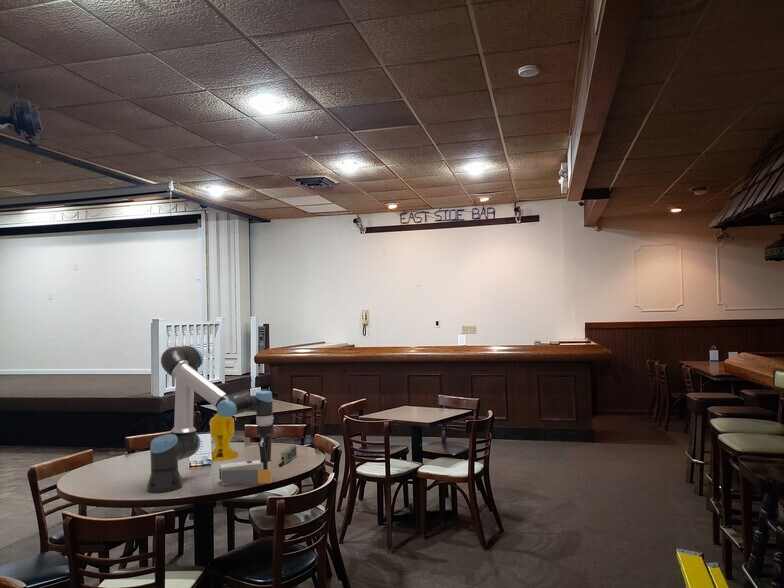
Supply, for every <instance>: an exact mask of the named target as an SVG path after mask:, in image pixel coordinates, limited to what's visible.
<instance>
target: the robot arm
mask: <svg viewBox="0 0 784 588" xmlns="http://www.w3.org/2000/svg"><path fill="white" fill-rule="evenodd" d="M203 362H204V357H203V353H202V351H201V350H200V349H199V348H198V347H196V346H193V345H184V346H183V345H182V346H172V347H168V348H167V349H165V351H163V353H162V355H161V357H160V365H161V367H162V369H163V370H164V371H165V373H167V374H168V375H170V376H171V378H173V379H175V390H174V391H175V393H174V395H175V396H174V397H175V399H174V402H175V403H174V425H173V428H172V429H171V430H170V434H163V435H159V436H157V437H155V438H153V439H152V440H151V442H150V447H149V451H150V475H149V478H148V482H147V484H146V485H147V486H146V491H147V492H148V491H149V492H148V493H153V492H160V493H166V492H167V493H168V492H171V491H176V490H178V489H181V488H182V487H183V480H182V476H181V474H180V471H179V461H181V460H184V459H188V458H190V457H192V456H193V455H195V454H197V452H198V451H199V450H200V447H201V437H200V436H199V434H198V433H197V428H195V426H194V403H195V402H194V401H195V400H194V398H195V393H196V394H198V395H199V396H201V397H202V398H203V399H204V400H205V401H206V402H208V403H209V404H210V405H212V406H213V407H215V408H216V413H218V414H219V415H220V416H221V417H234V416H236V415H239V414H243V413H250V412H253V413H256V415H255V417H256V420H255V421H256V434H257V435H260V437H259V442H258V448H259V456H260V463H261V464H262V469H270V462H272V457H271V456H272V443H273V442H272V441H273V438H272V437H273V436H272V437H271V434H273V433H274V424H273V423H274V419H275V417H274V414H273V411H274V410H273V408H274V406H273V401H274V400H273V393H272V391H271V390H258V391H256V392H255V395H243V394H241V395H235V396H233V397H231V396H230V395H229V394H227V393H226V392H225V391H224V390H222V389H221V388H219V387H218V386H217V385H216V384H214V383H213V382H212V381H210V380H209V379H208V378H206V377H205V376H204V375H202V374H201V373H200V372H199V368H200V367H201V366H202V364H203ZM180 487H181V488H180Z"/></svg>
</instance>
